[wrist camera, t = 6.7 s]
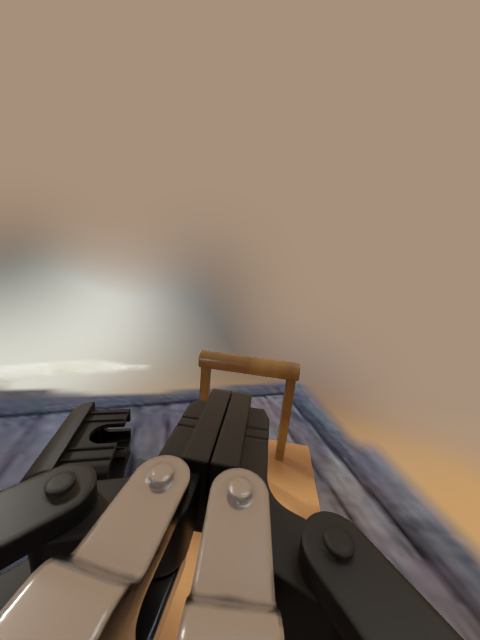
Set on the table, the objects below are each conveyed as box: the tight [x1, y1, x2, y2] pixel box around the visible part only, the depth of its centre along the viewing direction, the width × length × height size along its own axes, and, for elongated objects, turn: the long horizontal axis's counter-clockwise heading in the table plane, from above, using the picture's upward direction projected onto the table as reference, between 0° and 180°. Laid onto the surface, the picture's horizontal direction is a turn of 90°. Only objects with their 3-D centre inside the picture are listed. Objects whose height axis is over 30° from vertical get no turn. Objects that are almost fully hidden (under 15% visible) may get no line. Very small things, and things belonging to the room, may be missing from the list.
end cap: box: [20, 402, 131, 483], centre depth 25 cm, size 10×7×7 cm
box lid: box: [159, 350, 320, 640], centre depth 15 cm, size 16×13×10 cm
